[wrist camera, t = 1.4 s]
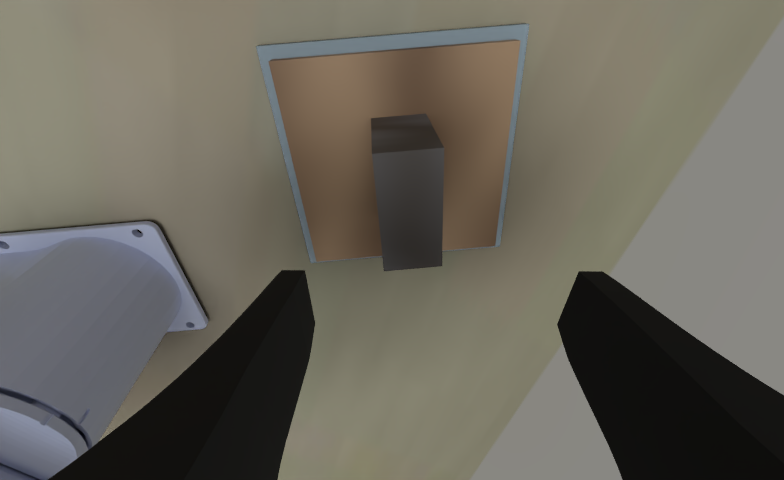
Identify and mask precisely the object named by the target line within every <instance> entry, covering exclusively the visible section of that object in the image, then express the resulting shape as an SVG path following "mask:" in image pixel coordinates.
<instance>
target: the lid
mask: <svg viewBox="0 0 784 480" xmlns="http://www.w3.org/2000/svg"><path fill="white" fill-rule="evenodd" d="M520 42H521V40H516V39H513V40H501V41H489V42H476V43H464V44H452V45H440V46H428V47H416V48H404V49H391V50H379V51H367V52H355V53H343V54H331V55H319V56H307V57H294V58H282V59H272V60H270V61H268V62H269V66H270V70H271V75H272V79H273V83H274V87H275V91H276V95H277V99H278V104H279V108H280V112H281V116H282V120H283V124H284V129H285V133H286V137H287V141H288V145H289V149H290V154H291V158H292V162H293V166H294V170H295V174H296V179H297V183H298V187H299V191H300V195H301V199H302V204H303V208H304V212H305V216H306V220H307V224H308V229H309V233H310V237H311V241H312V245H313V249H314V253H315V258H316V262H320V261H332V260H343V259H354V258H366V257H377V256H382V257H383V266H384V271H392V270H403V269H414V268H426V267H437V266H442V251H445V250H457V249H468V248H479V247H491V246H495V244H496V236H497V227H498V219H499V211H500V203H501V195H502V187H503V179H504V171H505V163H506V155H507V147H508V139H509V130H510V122H511V114H512V106H513V98H514V90H515V82H516V74H517V66H518V58H519V50H520Z"/></svg>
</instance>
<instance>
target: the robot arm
mask: <svg viewBox="0 0 784 480" xmlns="http://www.w3.org/2000/svg"><path fill="white" fill-rule="evenodd" d="M136 229H138V230H140V231H141V232H142V233H140V232H138V231H137V230H136ZM207 324H208V319H207V317H206V315H205V313H204V311H203V309H202V307H201V305H200V304H199V302H198V300H197V298H196V296H195V294H194V292H193V290H192V288H191V286H190V285H189V283H188V281H187V279H186V277H185V275H184V273H183V271H182V269H181V267H180V266H179V264H178V262H177V260H176V258H175V256H174V254H173V252H172V250H171V248H170V247H169V245H168V243H167V241H166V239H165V237H164V235H163V233H162V231H161V229H160V228H159V226H158V225H156V224H155V223H153V222H150V221H141V222H130V223H118V224H106V225H95V226H83V227H72V228H60V229H49V230H37V231H26V232H14V233H2V234H0V480H277V479H278V473H279V468H280V463H281V459H282V455H283V451H284V447H285V443H286V439H287V436H288V432H289V429H290V425H291V422H292V418H293V415H294V411H295V408H296V404H297V401H298V397H299V394H300V390H301V387H302V383H303V380H304V376H305V373H306V369H307V365H308V362H309V358H310V352H311V346H312V340H313V333H314V327H315V320H314V315H313V310H312V305H311V300H310V295H309V289H308V284H307V279H306V274H305V270H282V271H281V272H280V273H279V274H278V275H277V276H276V277H275V278H274V279H273V280H272V281H271V282H270V284H269V285H268V286H267V287H266V288H265V289H264V290H263V291H262V293H261V294H260V295H259V296H258V297H257V298H256V299H255V300H254V302H253V303H252V304H251V305H250V306H249V307H248V308H247V309H246V310H245V311H244V312H243V313H242V315H241V316H240V317H239V318H238V319H237V320H236V321H235V322H234V323H233V324H232V325H231V326H230V327H229V328H228V329H227V330H226V331H225V333H224V334H223V335H222V336H221V337H220V338H219V339H218V340H217V341H216V342H215V343H214V344H212V345H211V346H210V347H209V348H208V349H207V350H206V351H205V352H204V353H203V354H202V355H201V356H200V357H199V358H198V359H197V360H196V361H195V362H194V363H193V364H192V365H191V366H190V367H189V368H188V369H187V370H185V371H184V372H183V373H182V374H181V375H180V376H179V377H178V378H177V379H176V380H174V381H173V382H172V383H171V384H170V385H169V386H168V387H166V388H165V389H164V390H163V391H162V392H161V393H159V394H158V395H157V396H156V397H155V398H154V399H152V400H151V401H150V402H149V403H148V404H147V405H145V406H144V407H143V408H142V409H141V410H139V411H138V412H137V413H135V414H134V415H133V416H132V417H130V418H129V419H128V420H127V421H125V422H124V423H123V424H122V425H120V426H119V427H118V428H116V429H115V430H114V431H112V432H111V433H110V434H109V435H107V436H106V437H105V438H103V439H102V440H101V441H99V440H100V438H101V437H102V435H103V434H104V432H105V430H106V429H107V427H108V425H109V424H110V422H111V421H112V419H113V417H114V416H115V414H116V413H117V411H118V409H119V408H120V406H121V404H122V403H123V401H124V400H125V398H126V396H127V395H128V393H129V392H130V390H131V388H132V387H133V385H134V383H135V382H136V380H137V379H138V377H139V375H140V374H141V372H142V371H143V369H144V367H145V366H146V364H147V362H148V361H149V359H150V358H151V356H152V354H153V353H154V351H155V350H156V348H157V346H158V345H159V343H160V342H161V340H162V338H163V337H164V335H165V333H166V332H174V331H185V330H196V329H203V328H205V327H206V326H207ZM557 325H558V328H559V332H560V335H561V338H562V342H563V345H564V348H565V351H566V354H567V357H568V359H569V362H570V364H571V366H572V368H573V371H574V373H575V375H576V377H577V379H578V381H579V384H580V386H581V388H582V390H583V392H584V394H585V397H586V399H587V401H588V403H589V405H590V407H591V409H592V411H593V413H594V416H595V417H596V420H597V422H598V424H599V426H600V428H601V430H602V432H603V434H604V437H605V439H606V441H607V443H608V445H609V447H610V450H611V452H612V454H613V457H614V459H615V461H616V464H617V466H618V468H619V471H620V474H621V476H622V479H623V480H784V395H782V394H780V393H779V392H777V391H775V390H774V389H772V388H771V387H769V386H767V385H766V384H764V383H763V382H761V381H759V380H758V379H756V378H755V377H753V376H752V375H750V374H749V373H747V372H745V371H744V370H742V369H741V368H739V367H738V366H736V365H735V364H733V363H732V362H730V361H729V360H727V359H726V358H724V357H723V356H721V355H720V354H718V353H717V352H715V351H713V350H712V349H711V348H709V347H708V346H707V345H705V344H704V343H702V342H701V341H699V340H697V339H696V338H695V337H694V336H692V335H691V334H689V333H688V332H686V331H685V330H683V329H682V328H681V327H679V326H678V325H677V324H675V323H674V322H672V321H671V320H669V319H668V318H667V317H666V316H664V315H663V314H661V313H660V312H659V311H657V310H655V308H653V307H652V306H650V305H649V304H648V303H646V302H645V301H643V300H642V299H641V298H639V297H638V296H637V295H635V294H634V293H633V292H631V291H630V290H628V289H627V288H625V287H624V286H623V285H621V284H620V283H619V282H617V281H616V280H614V279H613V278H611V277H610V276H608V275H607V274H605V273H604V272H578V275H577V277H576V280H575V282H574V285H573V287H572V289H571V292H570V294H569V297H568V299H567V302H566V304H565V307H564V309H563V311H562V314H561V316H560V319H559V321H558V324H557Z"/></svg>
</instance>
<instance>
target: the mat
mask: <svg viewBox="0 0 784 480" xmlns="http://www.w3.org/2000/svg"><path fill="white" fill-rule="evenodd" d="M528 30H529V24H525V23H524V24H512V25H500V26H488V27H476V28H463V29H451V30H439V31H427V32H415V33H402V34H390V35H378V36H366V37H354V38H341V39H329V40H317V41H305V42H293V43H280V44H268V45H259V46H256V48H257V52H258V56H259V60H260V64H261V68H262V72H263V76H264V80H265V84H266V88H267V92H268V96H269V100H270V104H271V108H272V111H273V115H274V119H275V123H276V127H277V131H278V135H279V139H280V143H281V147H282V151H283V155H284V159H285V163H286V167H287V171H288V175H289V179H290V183H291V187H292V191H293V195H294V199H295V203H296V206H297V210H298V214H299V218H300V222H301V226H302V230H303V234H304V238H305V242H306V246H307V250H308V254H309V258H310V262H311V263H317V262H316V258H315V253H314V249H313V245H312V241H311V237H310V233H309V229H308V224H307V220H306V216H305V212H304V208H303V204H302V199H301V195H300V191H299V187H298V183H297V179H296V174H295V170H294V166H293V162H292V158H291V154H290V149H289V145H288V141H287V137H286V133H285V129H284V124H283V120H282V116H281V112H280V108H279V104H278V99H277V95H276V91H275V87H274V83H273V79H272V75H271V70H270V66H269V62H268V61H270V60H272V59H282V58H294V57H307V56H319V55H331V54H343V53H355V52H367V51H379V50H391V49H404V48H416V47H428V46H440V45H452V44H464V43H476V42H489V41H501V40H513V39H516V40H521V42H520V50H519V58H518V66H517V74H516V82H515V90H514V98H513V106H512V114H511V122H510V130H509V139H508V147H507V155H506V163H505V171H504V179H503V187H502V195H501V203H500V211H499V219H498V227H497V236H496V244H495V246H491V247H499V246H500V241H501V233H502V226H503V218H504V211H505V203H506V196H507V188H508V181H509V173H510V165H511V158H512V150H513V143H514V135H515V128H516V120H517V113H518V105H519V98H520V90H521V83H522V75H523V68H524V60H525V53H526V45H527V38H528ZM479 248H488V247H479ZM468 249H476V248H468ZM457 250H465V249H457ZM445 251H454V250H445ZM377 257H382V256H377ZM366 258H374V257H366ZM354 259H363V258H354ZM343 260H351V259H343ZM332 261H340V260H332ZM320 262H329V261H320Z"/></svg>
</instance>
